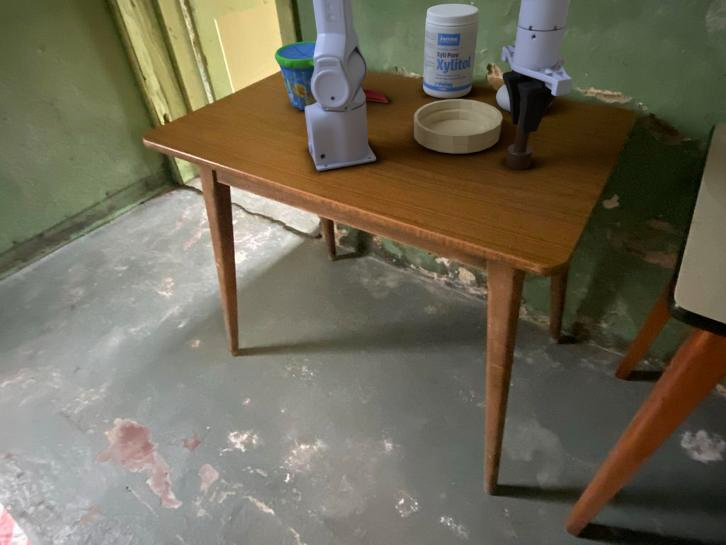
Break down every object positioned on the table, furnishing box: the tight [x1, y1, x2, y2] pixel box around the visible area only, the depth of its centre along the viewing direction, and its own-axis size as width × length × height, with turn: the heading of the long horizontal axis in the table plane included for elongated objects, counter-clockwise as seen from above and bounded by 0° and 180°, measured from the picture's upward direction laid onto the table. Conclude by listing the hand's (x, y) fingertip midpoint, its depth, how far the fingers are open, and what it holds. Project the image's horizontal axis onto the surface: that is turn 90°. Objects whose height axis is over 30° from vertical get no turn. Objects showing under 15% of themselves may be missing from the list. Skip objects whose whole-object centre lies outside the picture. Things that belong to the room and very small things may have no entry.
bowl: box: [413, 98, 504, 154], centre depth 81 cm, size 14×14×4 cm
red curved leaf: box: [362, 88, 389, 104], centre depth 96 cm, size 12×5×2 cm, turn 50°
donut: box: [495, 84, 553, 113], centre depth 89 cm, size 10×4×10 cm
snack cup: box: [274, 40, 317, 111], centre depth 93 cm, size 16×10×10 cm
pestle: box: [505, 101, 534, 171], centre depth 71 cm, size 4×4×10 cm
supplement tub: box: [422, 3, 480, 100], centre depth 93 cm, size 10×10×15 cm
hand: (523, 127), depth 70 cm, fingers closed
